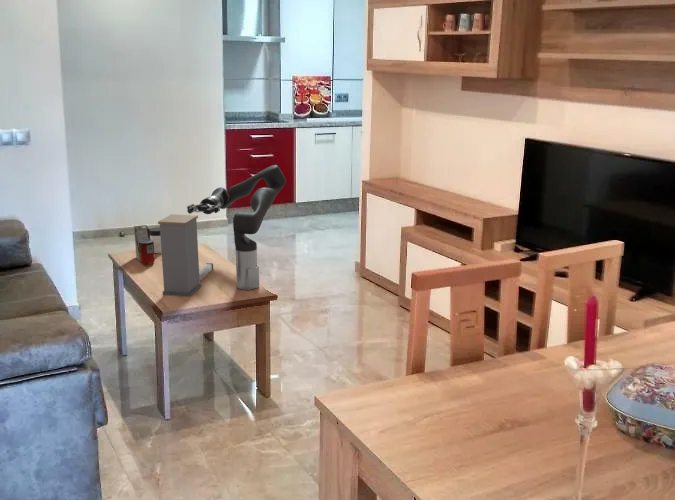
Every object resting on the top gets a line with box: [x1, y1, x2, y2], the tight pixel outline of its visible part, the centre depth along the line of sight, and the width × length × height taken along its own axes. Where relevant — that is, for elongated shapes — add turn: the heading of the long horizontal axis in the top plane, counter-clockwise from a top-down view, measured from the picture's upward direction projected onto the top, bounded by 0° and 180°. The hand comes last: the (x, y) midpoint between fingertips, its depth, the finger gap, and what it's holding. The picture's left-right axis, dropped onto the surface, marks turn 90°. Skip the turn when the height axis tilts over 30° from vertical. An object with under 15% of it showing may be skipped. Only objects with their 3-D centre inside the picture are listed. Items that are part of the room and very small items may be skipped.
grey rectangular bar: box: [199, 262, 214, 282], centre depth 333 cm, size 19×5×3 cm, turn 167°
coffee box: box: [133, 224, 151, 262], centre depth 358 cm, size 9×6×16 cm
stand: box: [157, 214, 202, 297], centre depth 308 cm, size 14×12×32 cm
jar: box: [149, 226, 162, 253], centre depth 371 cm, size 9×8×12 cm
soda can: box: [139, 239, 156, 267], centre depth 349 cm, size 7×7×12 cm
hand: (198, 211), depth 326 cm, fingers open, 8 cm apart
